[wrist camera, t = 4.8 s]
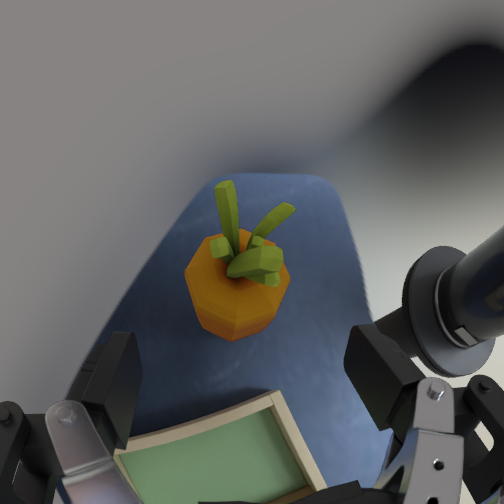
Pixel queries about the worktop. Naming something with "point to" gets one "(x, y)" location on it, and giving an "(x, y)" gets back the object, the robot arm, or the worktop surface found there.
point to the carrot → (238, 272)
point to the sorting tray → (224, 458)
